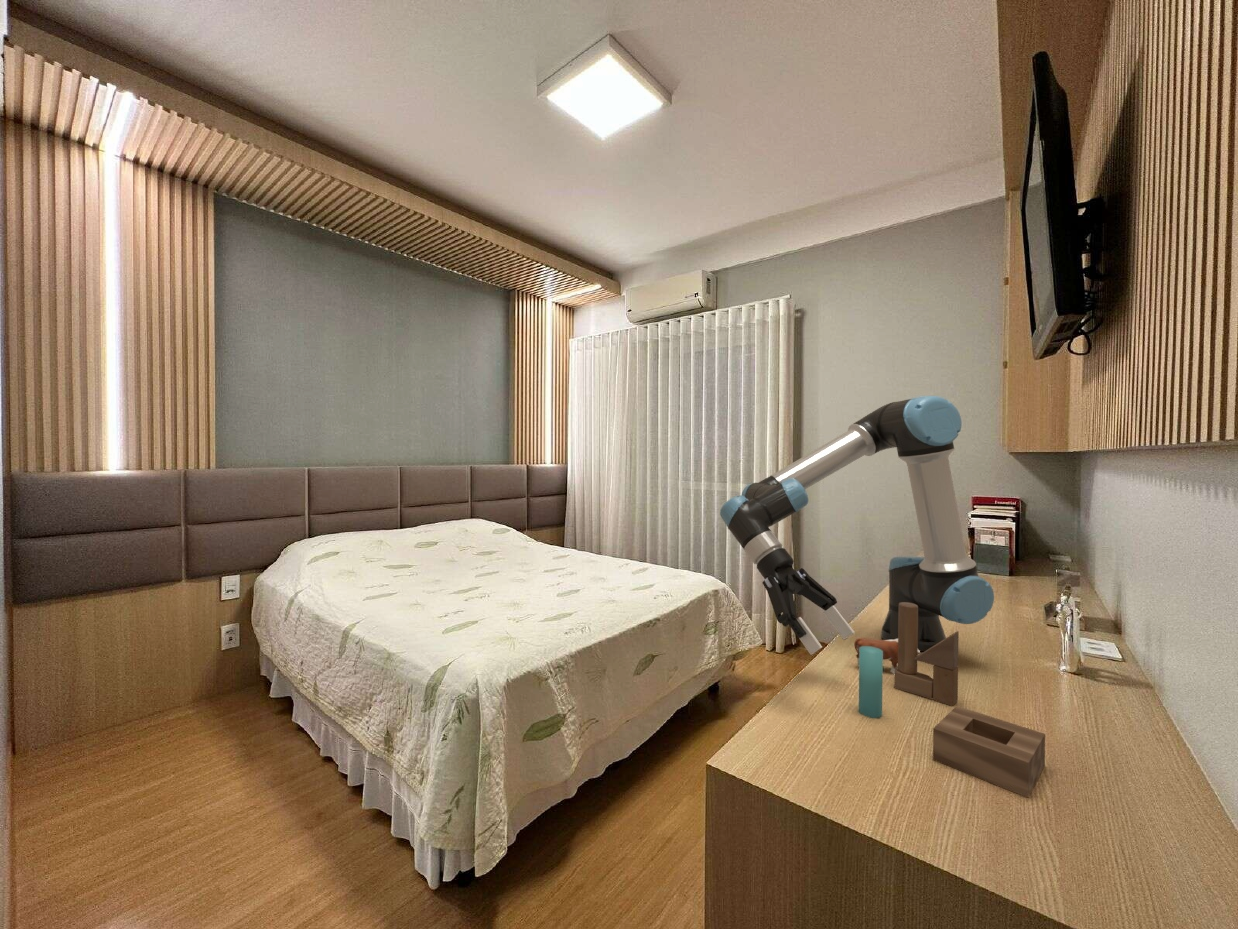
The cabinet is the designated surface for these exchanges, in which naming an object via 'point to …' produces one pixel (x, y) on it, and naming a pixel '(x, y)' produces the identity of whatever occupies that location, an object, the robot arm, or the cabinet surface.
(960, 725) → the socket block
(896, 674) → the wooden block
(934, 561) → the robot arm
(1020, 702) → the cabinet surface
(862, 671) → the peg
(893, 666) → the bull figurine
